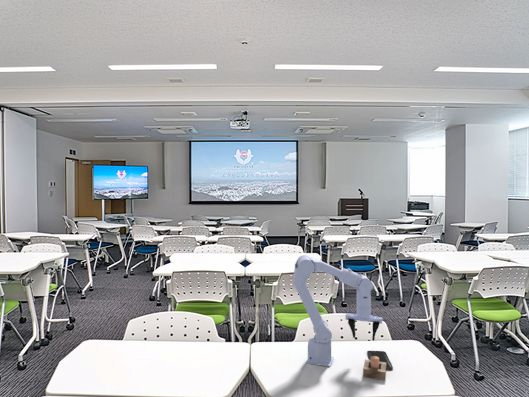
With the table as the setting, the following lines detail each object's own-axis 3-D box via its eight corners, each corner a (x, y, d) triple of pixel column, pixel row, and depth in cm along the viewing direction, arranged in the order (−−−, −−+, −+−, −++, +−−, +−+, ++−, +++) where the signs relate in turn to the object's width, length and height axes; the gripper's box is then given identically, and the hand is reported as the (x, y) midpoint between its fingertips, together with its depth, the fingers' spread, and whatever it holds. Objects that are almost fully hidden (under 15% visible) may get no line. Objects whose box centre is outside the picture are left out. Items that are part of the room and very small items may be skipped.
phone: (385, 351, 159) (393, 368, 144) (385, 353, 159) (393, 371, 144) (366, 350, 160) (372, 367, 145) (366, 353, 160) (372, 370, 145)
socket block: (363, 376, 140) (363, 368, 140) (365, 366, 147) (365, 359, 147) (385, 380, 137) (385, 372, 137) (386, 370, 144) (386, 362, 144)
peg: (370, 374, 141) (370, 359, 141) (370, 370, 144) (370, 355, 144) (379, 375, 140) (378, 360, 140) (379, 371, 143) (379, 356, 143)
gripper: (344, 306, 150) (344, 339, 151) (381, 310, 145) (381, 344, 146) (346, 301, 157) (346, 333, 157) (382, 305, 152) (382, 337, 152)
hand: (363, 338), depth 152 cm, fingers open, 7 cm apart
